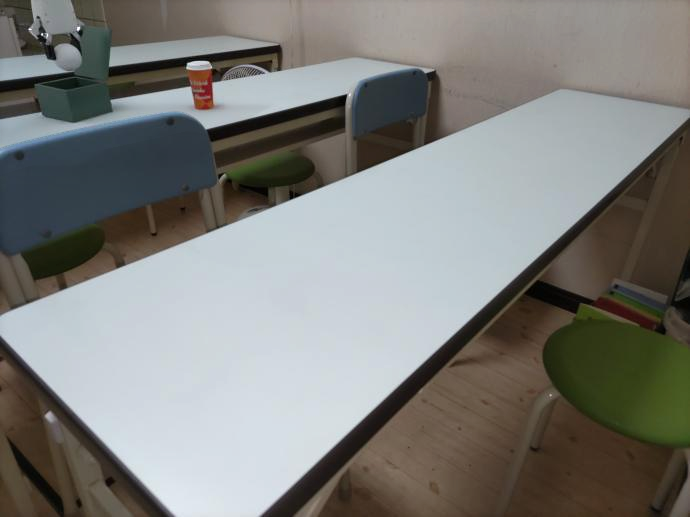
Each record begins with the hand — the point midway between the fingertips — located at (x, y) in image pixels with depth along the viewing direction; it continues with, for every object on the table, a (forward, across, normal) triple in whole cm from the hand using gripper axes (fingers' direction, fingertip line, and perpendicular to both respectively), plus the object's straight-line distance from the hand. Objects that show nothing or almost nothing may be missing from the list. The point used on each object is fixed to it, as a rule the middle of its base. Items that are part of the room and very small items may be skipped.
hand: (65, 57), depth 144 cm
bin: (+16, 0, 0) cm, 16 cm away
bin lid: (0, -9, 0) cm, 9 cm away
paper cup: (+16, -25, +27) cm, 40 cm away
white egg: (+4, 0, 0) cm, 4 cm away
